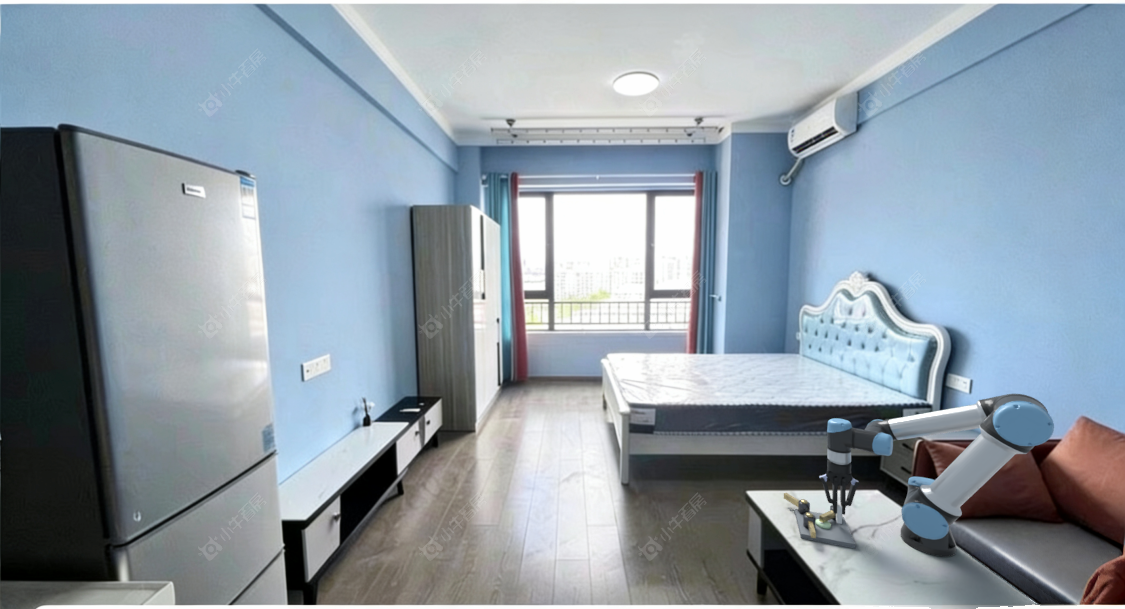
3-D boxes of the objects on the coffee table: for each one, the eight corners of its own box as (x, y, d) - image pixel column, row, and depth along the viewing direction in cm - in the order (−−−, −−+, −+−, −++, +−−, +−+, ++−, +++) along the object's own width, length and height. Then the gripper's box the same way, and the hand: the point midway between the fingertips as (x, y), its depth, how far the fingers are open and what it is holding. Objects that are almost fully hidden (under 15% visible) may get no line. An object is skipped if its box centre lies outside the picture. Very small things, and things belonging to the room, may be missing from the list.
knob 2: (802, 522, 162) (802, 510, 161) (814, 524, 160) (814, 512, 160) (806, 539, 151) (807, 526, 151) (819, 542, 149) (820, 529, 149)
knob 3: (833, 514, 167) (834, 502, 166) (844, 519, 163) (844, 507, 163) (815, 521, 162) (816, 509, 161) (826, 527, 158) (826, 515, 158)
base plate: (843, 521, 165) (844, 514, 165) (855, 548, 148) (855, 540, 148) (794, 512, 171) (794, 505, 171) (800, 537, 155) (800, 530, 155)
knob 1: (812, 514, 167) (812, 502, 167) (804, 515, 166) (804, 504, 166) (788, 499, 178) (788, 488, 178) (781, 501, 177) (781, 490, 177)
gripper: (857, 459, 158) (856, 519, 159) (817, 454, 163) (817, 513, 164) (862, 467, 151) (862, 530, 152) (820, 462, 156) (820, 523, 157)
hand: (838, 521), depth 158 cm, fingers closed
